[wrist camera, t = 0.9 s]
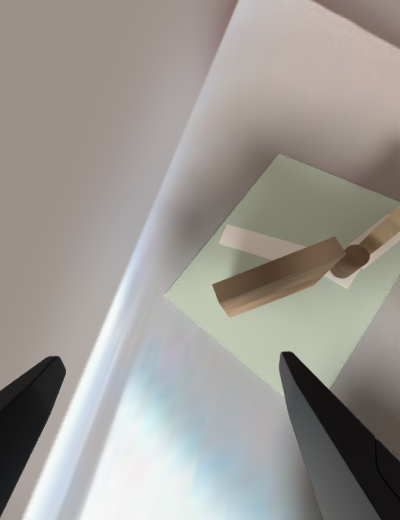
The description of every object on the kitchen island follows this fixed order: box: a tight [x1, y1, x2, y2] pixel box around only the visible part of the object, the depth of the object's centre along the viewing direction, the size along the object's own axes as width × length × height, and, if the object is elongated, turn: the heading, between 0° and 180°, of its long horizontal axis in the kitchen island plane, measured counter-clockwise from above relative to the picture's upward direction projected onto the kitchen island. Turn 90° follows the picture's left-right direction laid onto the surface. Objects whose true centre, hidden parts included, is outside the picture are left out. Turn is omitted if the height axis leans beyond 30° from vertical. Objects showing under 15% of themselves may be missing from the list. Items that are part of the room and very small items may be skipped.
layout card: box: [164, 154, 400, 398], centre depth 22 cm, size 16×21×1 cm
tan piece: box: [330, 205, 400, 279], centre depth 17 cm, size 2×9×9 cm, turn 126°
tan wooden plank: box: [212, 236, 346, 318], centre depth 17 cm, size 8×1×8 cm, turn 109°
